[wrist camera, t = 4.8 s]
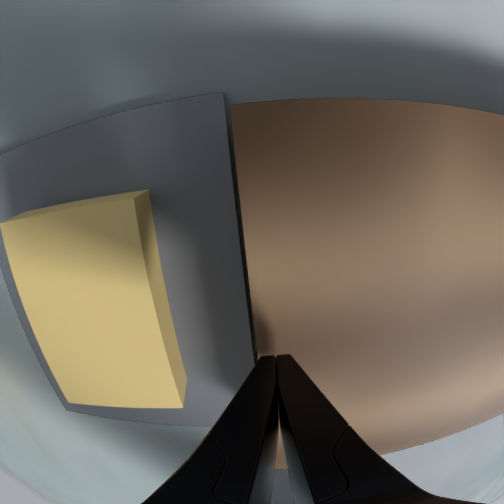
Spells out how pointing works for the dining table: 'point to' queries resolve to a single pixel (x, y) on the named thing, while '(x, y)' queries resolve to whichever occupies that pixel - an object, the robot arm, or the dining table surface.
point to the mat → (166, 229)
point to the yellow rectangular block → (98, 300)
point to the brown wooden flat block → (378, 257)
